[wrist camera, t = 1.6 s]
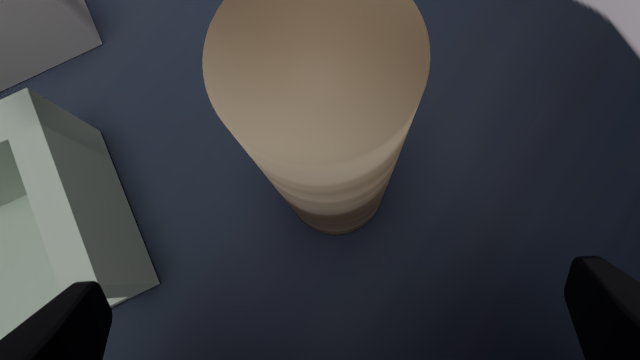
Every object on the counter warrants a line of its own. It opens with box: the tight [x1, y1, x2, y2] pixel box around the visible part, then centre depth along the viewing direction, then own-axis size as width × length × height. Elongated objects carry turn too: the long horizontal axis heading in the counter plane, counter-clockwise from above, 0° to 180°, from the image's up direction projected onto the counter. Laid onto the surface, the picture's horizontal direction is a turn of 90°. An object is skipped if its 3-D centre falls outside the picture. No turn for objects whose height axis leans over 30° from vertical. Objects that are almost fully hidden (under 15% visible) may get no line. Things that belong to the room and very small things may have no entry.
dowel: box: [202, 0, 430, 235], centre depth 14 cm, size 4×4×12 cm
